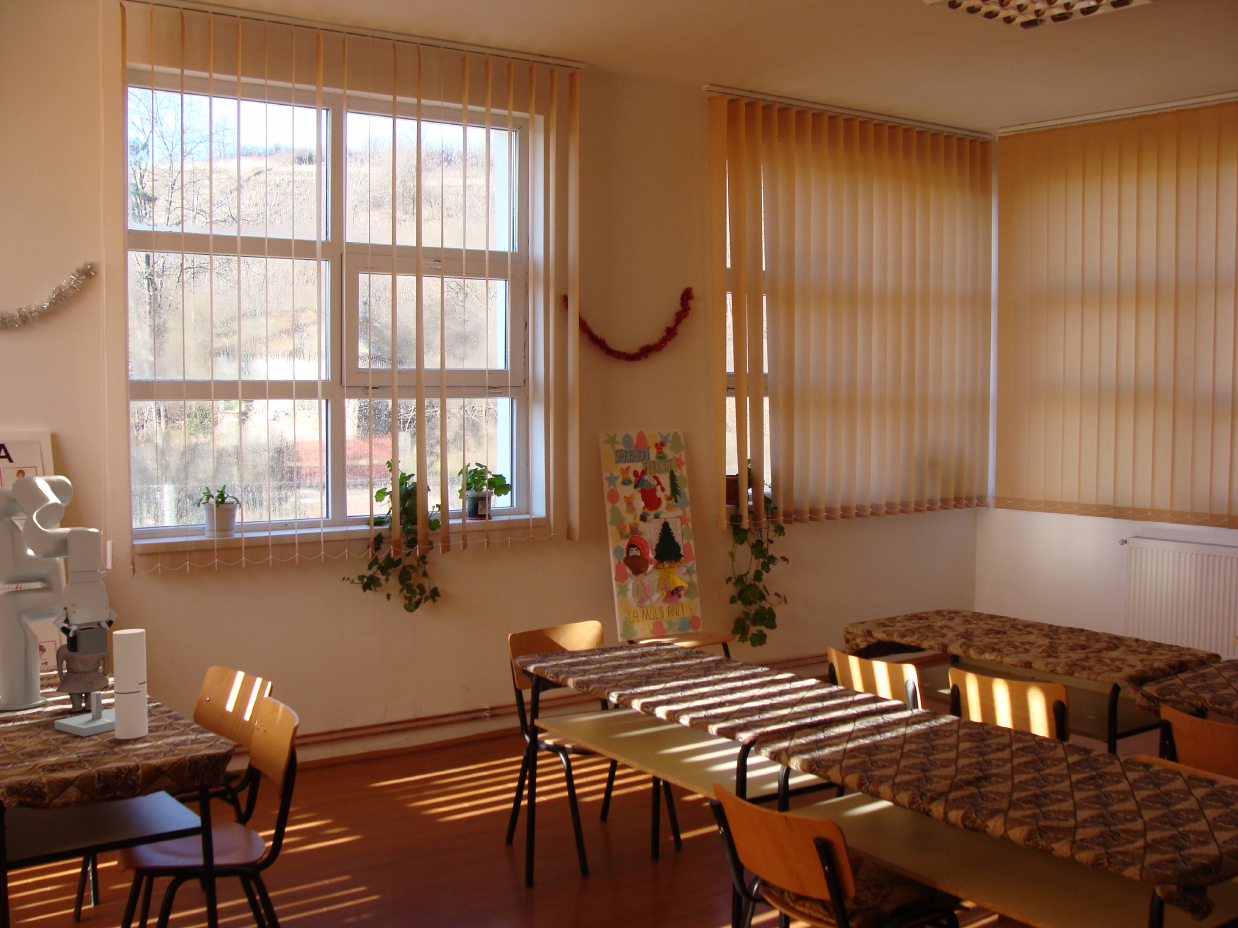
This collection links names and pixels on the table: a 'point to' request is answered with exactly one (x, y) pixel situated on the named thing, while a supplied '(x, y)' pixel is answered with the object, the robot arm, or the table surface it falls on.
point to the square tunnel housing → (91, 640)
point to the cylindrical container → (130, 683)
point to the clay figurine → (82, 674)
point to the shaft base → (89, 719)
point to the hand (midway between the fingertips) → (87, 648)
